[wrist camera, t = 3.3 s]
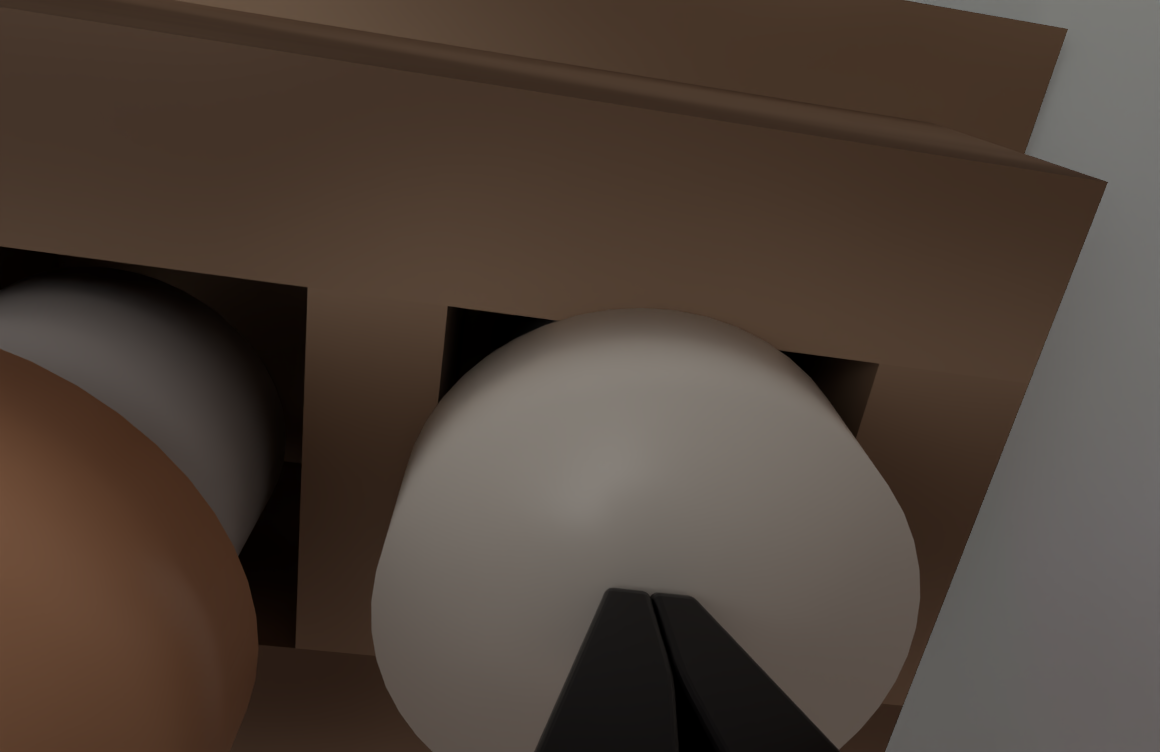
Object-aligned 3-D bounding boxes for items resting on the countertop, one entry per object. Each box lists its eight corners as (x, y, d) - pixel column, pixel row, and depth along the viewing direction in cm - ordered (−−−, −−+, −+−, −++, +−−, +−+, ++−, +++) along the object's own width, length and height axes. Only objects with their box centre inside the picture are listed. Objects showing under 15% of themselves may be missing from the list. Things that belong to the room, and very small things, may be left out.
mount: (826, 670, 17) (925, 905, 13) (-448, 545, 15) (-863, 777, 11) (1045, 27, 13) (1318, 46, 8) (-754, -288, 10) (-1722, -497, 6)
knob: (738, 556, 14) (836, 841, 10) (421, 521, 14) (356, 803, 9) (820, 252, 12) (997, 419, 8) (453, 199, 12) (390, 342, 7)
